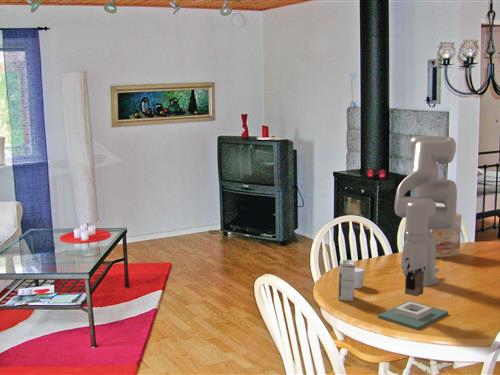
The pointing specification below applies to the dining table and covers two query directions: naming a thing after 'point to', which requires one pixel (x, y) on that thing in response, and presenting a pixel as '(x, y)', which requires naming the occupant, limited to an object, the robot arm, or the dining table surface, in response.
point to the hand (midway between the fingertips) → (414, 287)
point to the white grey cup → (358, 277)
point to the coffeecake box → (448, 240)
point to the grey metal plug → (416, 284)
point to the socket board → (413, 314)
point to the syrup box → (346, 280)
